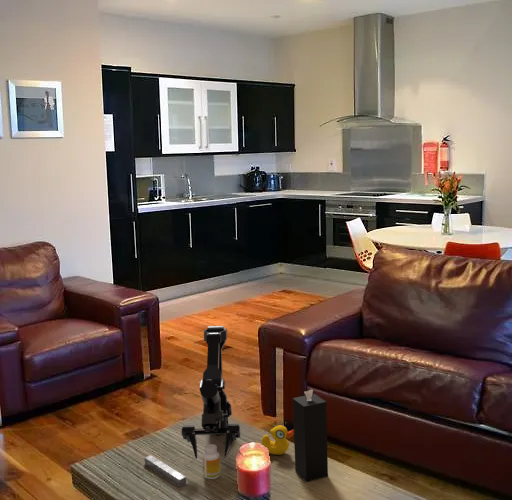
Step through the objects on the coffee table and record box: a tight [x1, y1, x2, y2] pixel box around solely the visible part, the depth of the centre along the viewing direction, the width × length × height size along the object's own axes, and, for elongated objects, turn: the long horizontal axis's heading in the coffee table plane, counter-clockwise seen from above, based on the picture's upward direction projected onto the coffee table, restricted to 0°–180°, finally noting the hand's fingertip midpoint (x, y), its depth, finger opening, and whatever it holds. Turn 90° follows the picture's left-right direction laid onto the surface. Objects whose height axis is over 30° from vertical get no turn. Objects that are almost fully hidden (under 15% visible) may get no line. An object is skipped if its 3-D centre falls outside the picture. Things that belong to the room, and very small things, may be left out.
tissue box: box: [292, 389, 329, 482], centre depth 199 cm, size 8×8×28 cm
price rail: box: [143, 454, 187, 488], centre depth 204 cm, size 3×21×2 cm, turn 40°
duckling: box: [261, 424, 294, 456], centre depth 215 cm, size 11×5×10 cm, turn 81°
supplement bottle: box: [202, 443, 221, 480], centre depth 202 cm, size 5×5×10 cm
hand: (210, 457), depth 200 cm, fingers open, 9 cm apart
